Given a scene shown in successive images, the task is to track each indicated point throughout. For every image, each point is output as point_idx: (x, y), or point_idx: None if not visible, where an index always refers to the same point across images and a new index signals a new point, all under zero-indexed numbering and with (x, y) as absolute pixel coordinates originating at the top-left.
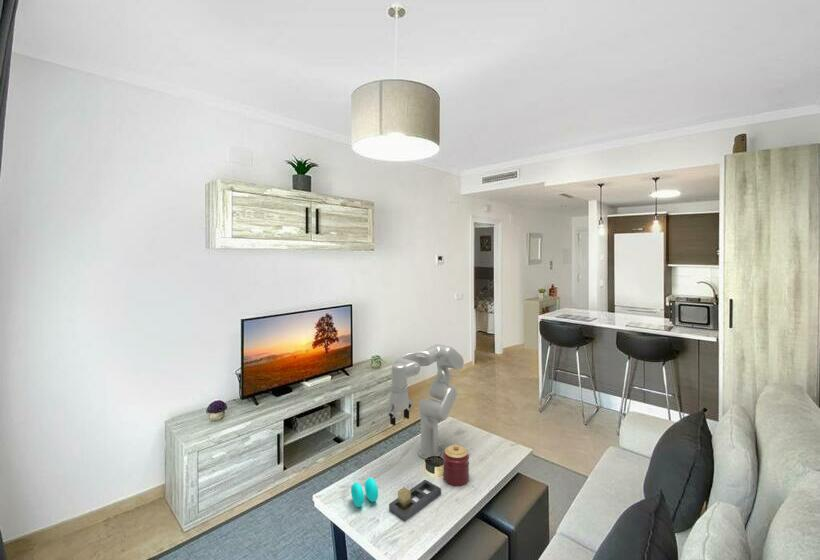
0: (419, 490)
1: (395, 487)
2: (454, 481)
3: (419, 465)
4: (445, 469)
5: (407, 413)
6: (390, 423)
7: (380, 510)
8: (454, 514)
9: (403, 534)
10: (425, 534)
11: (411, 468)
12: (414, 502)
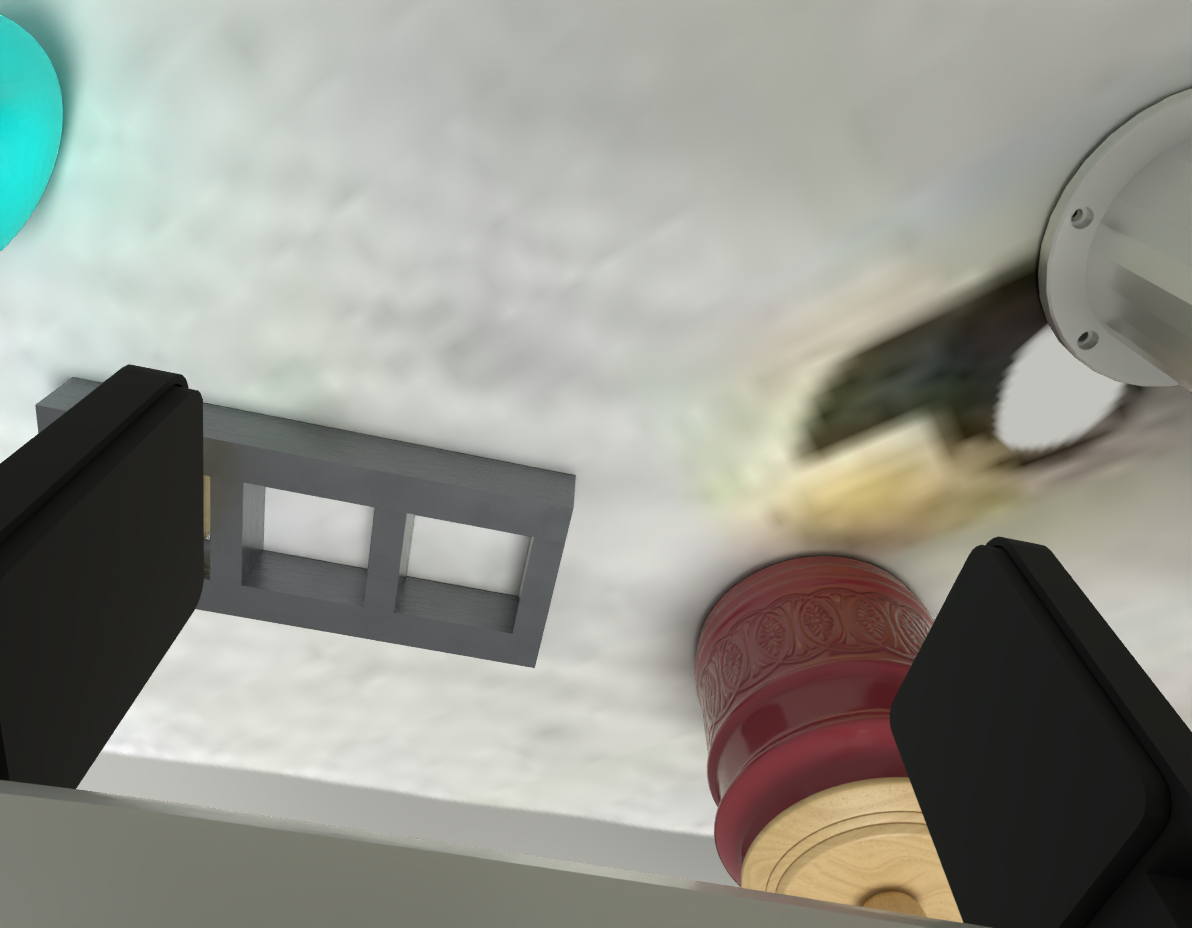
0: (391, 540)
1: (370, 239)
2: (700, 703)
3: (881, 259)
4: (731, 684)
5: (971, 895)
6: (132, 372)
7: (8, 309)
8: (399, 768)
9: None
10: None
11: (781, 205)
12: (227, 576)
